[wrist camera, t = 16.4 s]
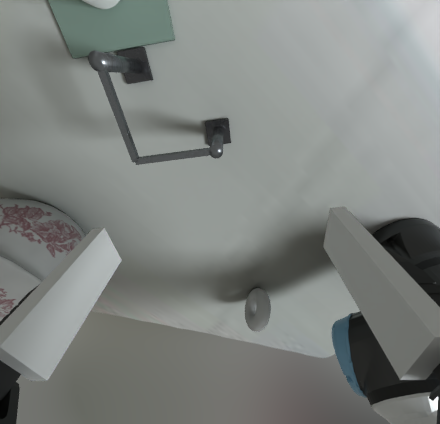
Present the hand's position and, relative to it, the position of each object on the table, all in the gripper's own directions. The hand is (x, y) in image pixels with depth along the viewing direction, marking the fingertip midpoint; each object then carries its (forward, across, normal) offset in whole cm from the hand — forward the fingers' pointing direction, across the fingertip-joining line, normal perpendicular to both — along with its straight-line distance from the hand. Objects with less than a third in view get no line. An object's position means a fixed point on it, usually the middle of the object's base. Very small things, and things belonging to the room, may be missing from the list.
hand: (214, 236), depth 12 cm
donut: (+26, -3, +40) cm, 48 cm away
